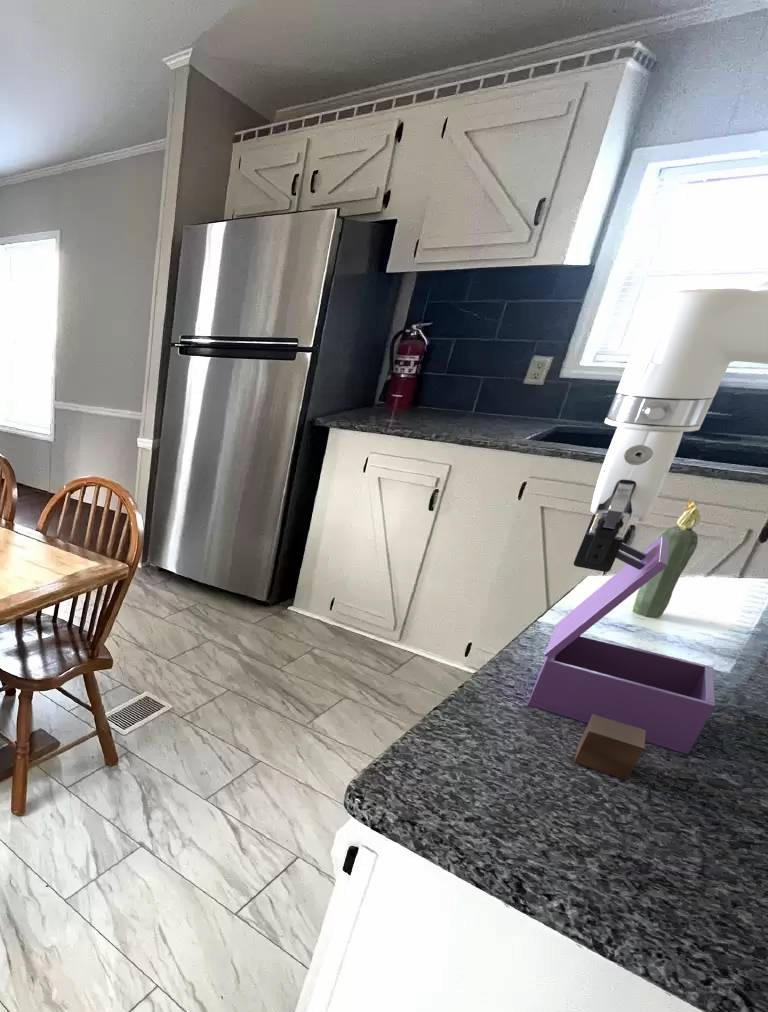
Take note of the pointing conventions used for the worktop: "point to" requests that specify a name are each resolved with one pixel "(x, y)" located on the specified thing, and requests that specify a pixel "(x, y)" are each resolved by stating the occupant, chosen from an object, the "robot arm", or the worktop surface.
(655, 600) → the vegetable
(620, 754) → the block
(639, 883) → the worktop surface
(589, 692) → the document box
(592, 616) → the lid
